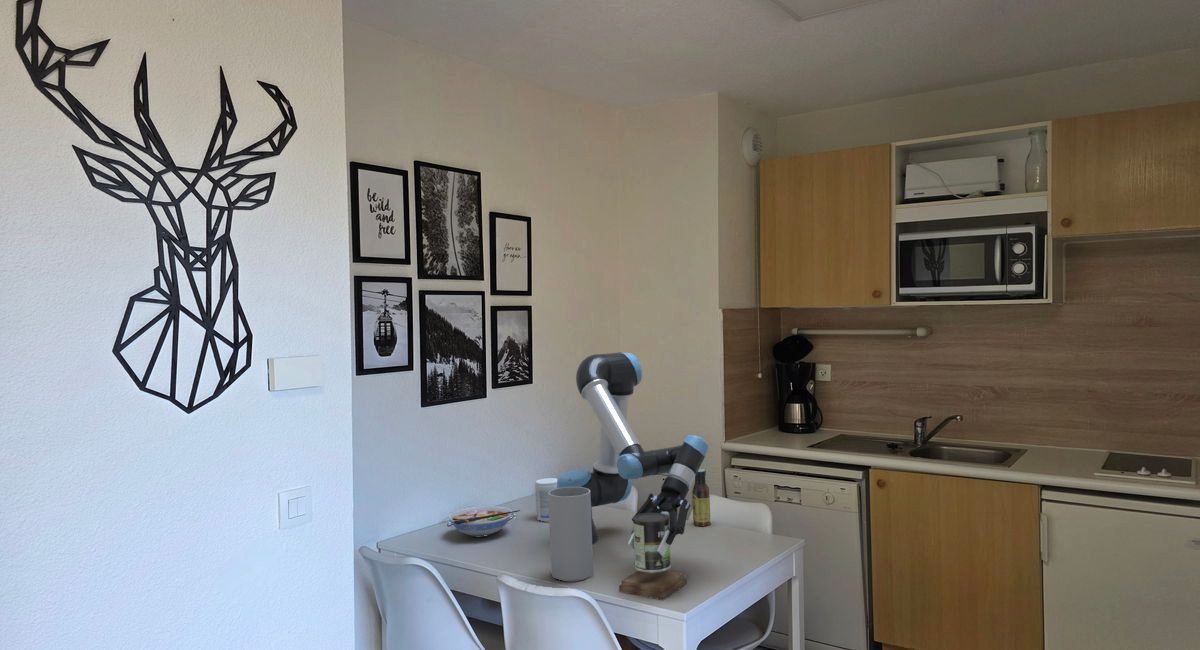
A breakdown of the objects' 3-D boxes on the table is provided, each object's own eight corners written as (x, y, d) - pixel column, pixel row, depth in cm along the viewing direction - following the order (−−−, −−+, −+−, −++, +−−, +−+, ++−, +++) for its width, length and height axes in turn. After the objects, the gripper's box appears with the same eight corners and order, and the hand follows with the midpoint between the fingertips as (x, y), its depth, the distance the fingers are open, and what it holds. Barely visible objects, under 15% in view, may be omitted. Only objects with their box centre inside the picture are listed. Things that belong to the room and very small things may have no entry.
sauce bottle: (694, 521, 287) (692, 467, 286) (711, 522, 285) (710, 468, 284) (691, 526, 280) (689, 471, 280) (709, 527, 278) (707, 471, 278)
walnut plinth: (619, 591, 219) (618, 580, 219) (644, 576, 231) (643, 565, 231) (663, 600, 212) (662, 589, 212) (686, 583, 223) (686, 573, 223)
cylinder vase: (596, 568, 239) (593, 486, 239) (589, 582, 227) (586, 496, 226) (556, 567, 241) (553, 486, 241) (547, 581, 229) (543, 496, 229)
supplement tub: (567, 518, 298) (565, 479, 297) (548, 524, 291) (546, 484, 291) (550, 514, 304) (549, 476, 304) (531, 519, 298) (530, 481, 298)
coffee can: (677, 563, 223) (675, 514, 223) (661, 574, 214) (658, 523, 214) (645, 559, 228) (642, 510, 228) (627, 570, 219) (625, 519, 219)
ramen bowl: (499, 521, 297) (498, 499, 297) (527, 534, 278) (526, 511, 278) (436, 533, 283) (435, 511, 283) (461, 548, 264) (460, 524, 264)
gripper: (715, 495, 224) (684, 564, 213) (654, 485, 240) (621, 549, 228) (703, 480, 220) (671, 550, 209) (642, 471, 236) (608, 535, 225)
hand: (645, 550), depth 219 cm, fingers closed on coffee can, 10 cm apart
